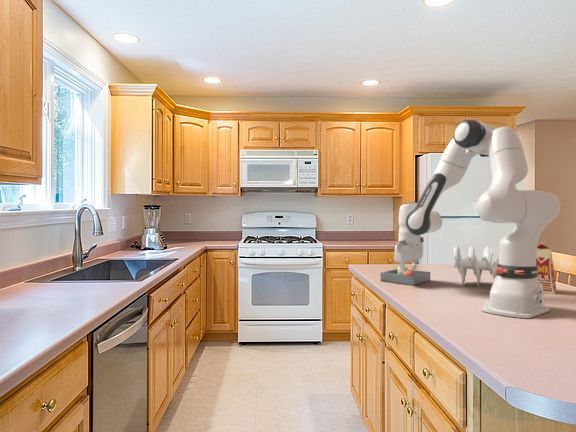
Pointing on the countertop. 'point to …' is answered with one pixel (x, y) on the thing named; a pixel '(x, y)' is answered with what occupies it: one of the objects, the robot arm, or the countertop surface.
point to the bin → (405, 277)
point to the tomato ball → (408, 273)
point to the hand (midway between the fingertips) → (408, 270)
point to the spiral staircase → (475, 263)
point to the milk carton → (545, 269)
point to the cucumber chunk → (400, 270)
